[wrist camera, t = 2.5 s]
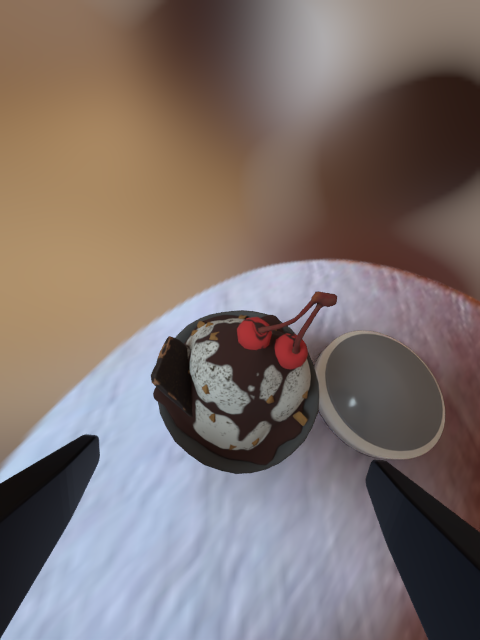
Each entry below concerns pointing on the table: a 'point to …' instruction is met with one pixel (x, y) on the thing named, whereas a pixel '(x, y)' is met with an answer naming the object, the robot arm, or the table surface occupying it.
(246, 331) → the sundae
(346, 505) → the table surface
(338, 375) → the round mirror
